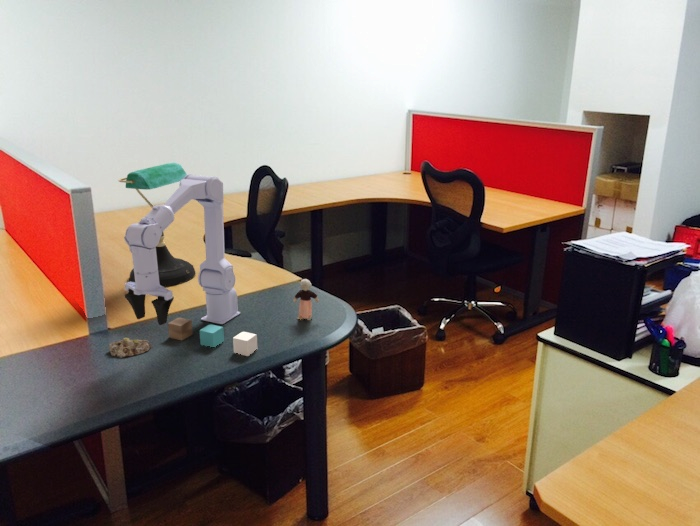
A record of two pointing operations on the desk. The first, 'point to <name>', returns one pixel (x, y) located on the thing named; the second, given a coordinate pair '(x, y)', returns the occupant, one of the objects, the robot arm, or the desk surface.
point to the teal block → (211, 335)
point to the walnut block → (180, 328)
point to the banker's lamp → (168, 266)
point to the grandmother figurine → (305, 300)
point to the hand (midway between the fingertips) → (151, 320)
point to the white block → (245, 343)
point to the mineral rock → (129, 347)
